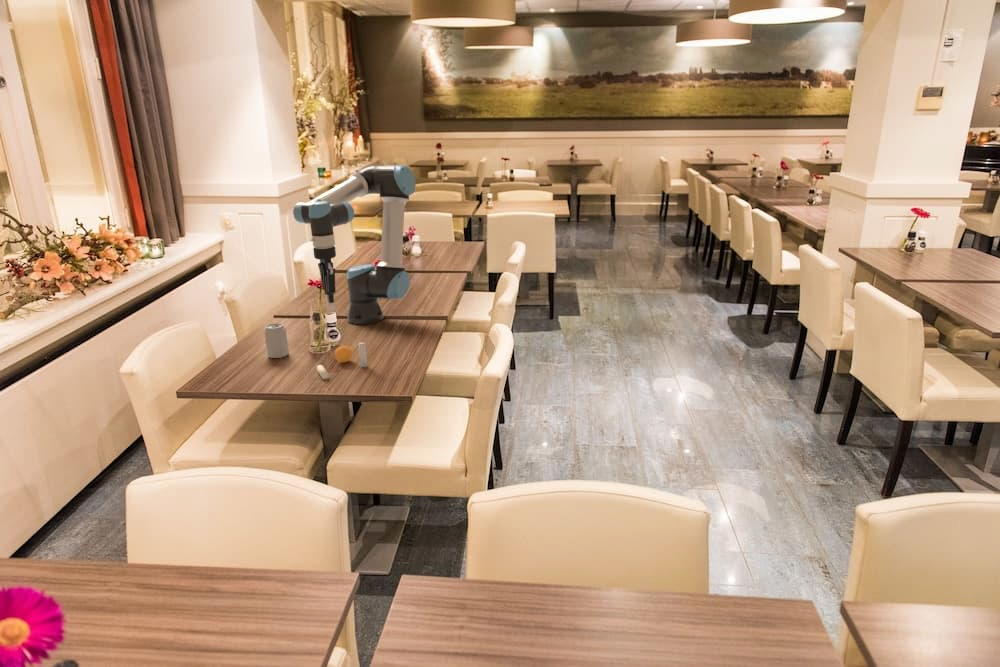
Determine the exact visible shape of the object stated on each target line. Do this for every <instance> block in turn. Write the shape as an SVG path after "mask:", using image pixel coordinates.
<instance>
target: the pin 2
mask: <svg viewBox="0 0 1000 667" xmlns="http://www.w3.org/2000/svg"><path fill="white" fill-rule="evenodd" d="M357 346H358V354H359V357H358V358H359V365H360V366H359V367H360V368H362V367H364V368H367V367H368V357H367V349H366V342H364V341H362V342H358V344H357Z"/></svg>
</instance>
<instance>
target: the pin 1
mask: <svg viewBox="0 0 1000 667" xmlns="http://www.w3.org/2000/svg"><path fill="white" fill-rule="evenodd" d="M316 370H317V372H318V374H319V375H320V377H321V378H322V380H324V379H326V380H328V379H329V378H330V375H329V373H328V371H327V370H326V368H325V367H324V365H322V364H318V365H317V366H316ZM327 378H328V379H327Z"/></svg>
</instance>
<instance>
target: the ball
mask: <svg viewBox="0 0 1000 667" xmlns="http://www.w3.org/2000/svg"><path fill="white" fill-rule="evenodd" d="M334 355H335V356H334V357H335V359H336V360H337V361H338V362H339V363H342V364H344V363H348V362H349V361H350V360H351V359H352V357H353V351H352V349H351V348H350V347H349V346H347V345H340V346H338V347H337V348H336V350H335V352H334Z"/></svg>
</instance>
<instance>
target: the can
mask: <svg viewBox="0 0 1000 667" xmlns="http://www.w3.org/2000/svg"><path fill="white" fill-rule="evenodd" d="M263 333H264V339H265V344H266V351H267V356H268V357H269V358H270V357H271V358H270V359H272V358H280V359H283V358H282V357H284V358H286V357H287V356H288V355H289V353H290V350H289V343H288V337H287V329H286V327H285V326H284V324H283V323H281V322H280V323H278V322H276V323H275V322H274V323H270V324H267V325H266V326H265V328H264V331H263ZM285 356H286V357H285Z"/></svg>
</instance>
